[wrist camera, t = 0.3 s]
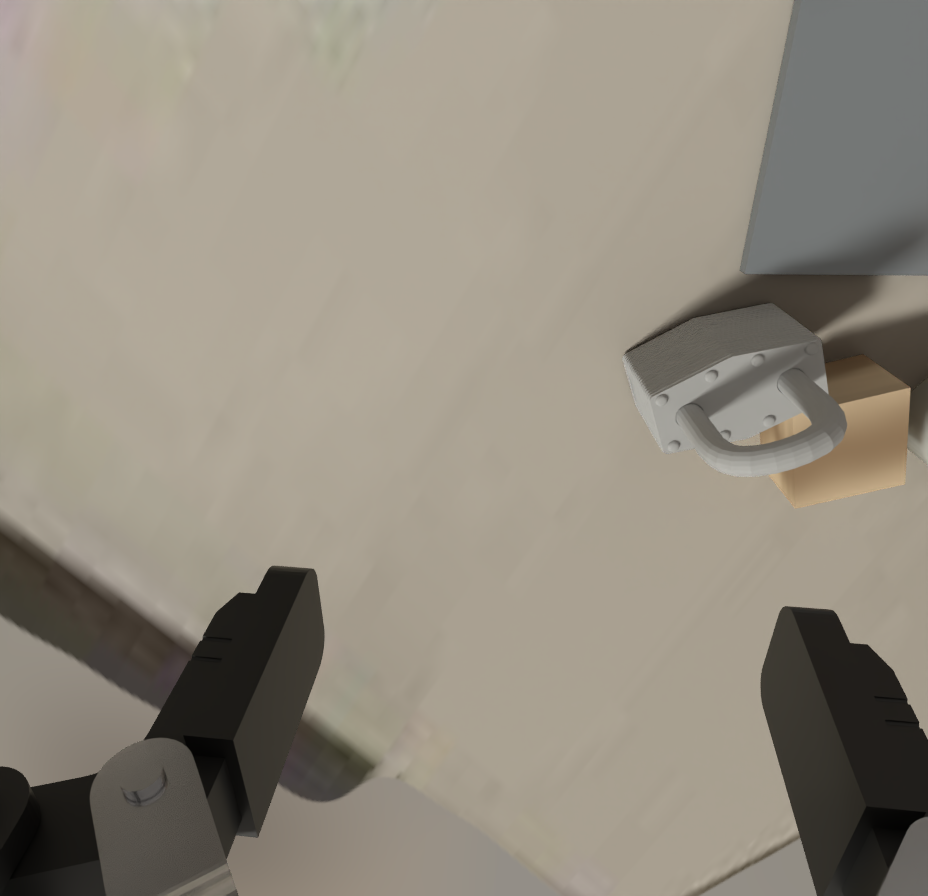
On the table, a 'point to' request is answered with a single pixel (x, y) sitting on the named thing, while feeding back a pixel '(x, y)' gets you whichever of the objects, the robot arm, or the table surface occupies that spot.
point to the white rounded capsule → (919, 422)
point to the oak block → (852, 436)
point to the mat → (846, 145)
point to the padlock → (736, 390)
